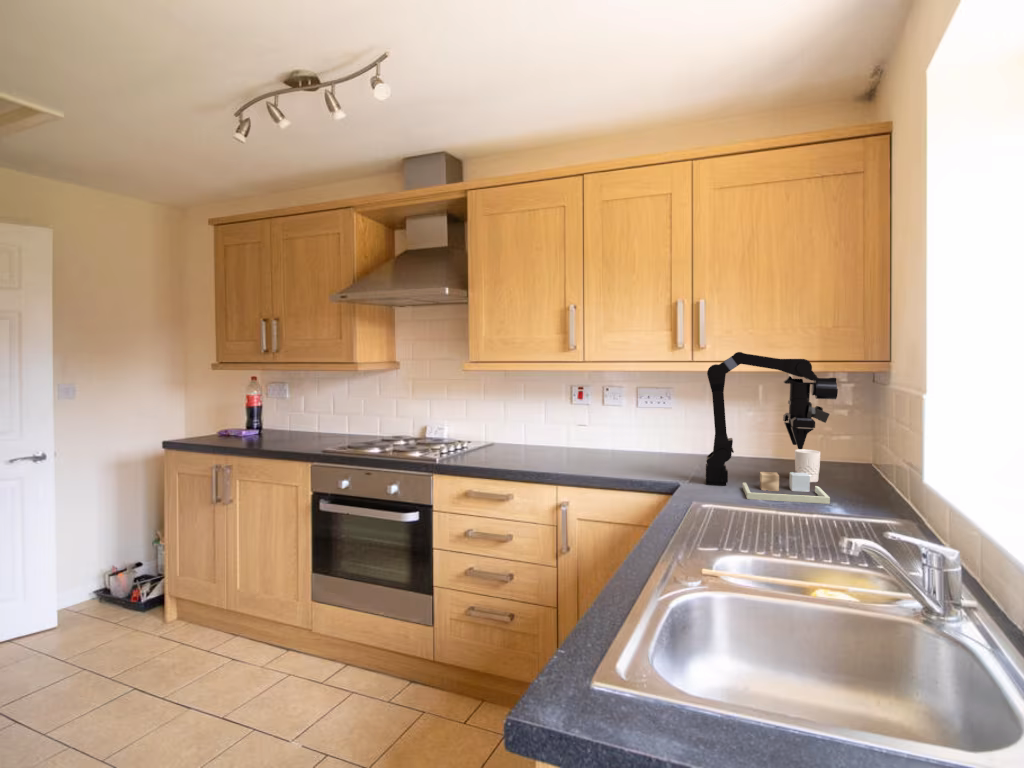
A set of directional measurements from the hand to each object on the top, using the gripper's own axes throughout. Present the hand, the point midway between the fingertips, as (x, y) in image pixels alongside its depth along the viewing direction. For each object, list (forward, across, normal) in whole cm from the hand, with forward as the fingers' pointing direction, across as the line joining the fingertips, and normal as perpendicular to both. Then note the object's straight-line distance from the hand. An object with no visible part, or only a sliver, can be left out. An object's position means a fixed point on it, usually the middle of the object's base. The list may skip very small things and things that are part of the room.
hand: (797, 447), depth 185 cm
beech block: (+14, -3, +8) cm, 16 cm away
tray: (+13, -11, +5) cm, 18 cm away
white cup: (+13, +14, -6) cm, 20 cm away
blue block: (+13, -2, -1) cm, 14 cm away
